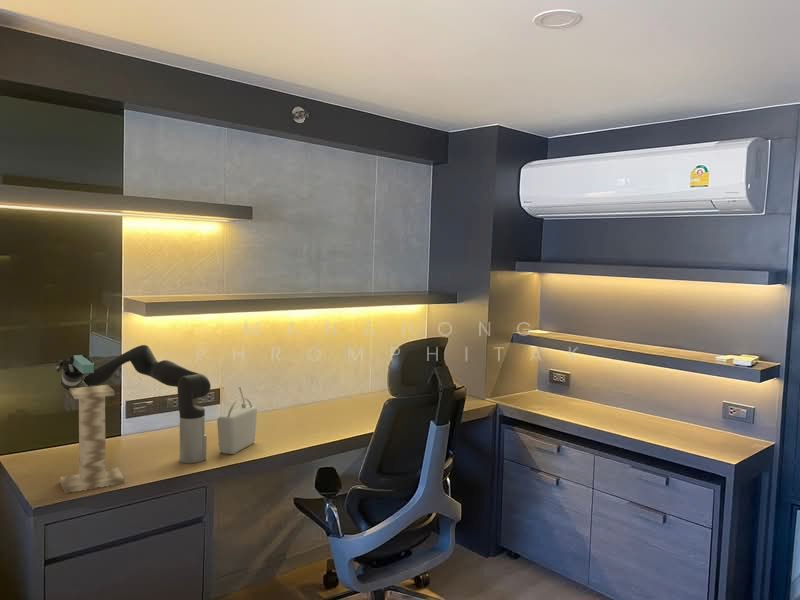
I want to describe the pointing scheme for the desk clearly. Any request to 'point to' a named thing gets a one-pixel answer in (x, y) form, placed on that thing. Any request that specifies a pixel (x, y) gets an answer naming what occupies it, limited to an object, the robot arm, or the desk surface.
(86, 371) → the bar
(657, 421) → the desk surface
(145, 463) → the desk surface
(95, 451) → the stand
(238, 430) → the white handbag
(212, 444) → the desk surface
